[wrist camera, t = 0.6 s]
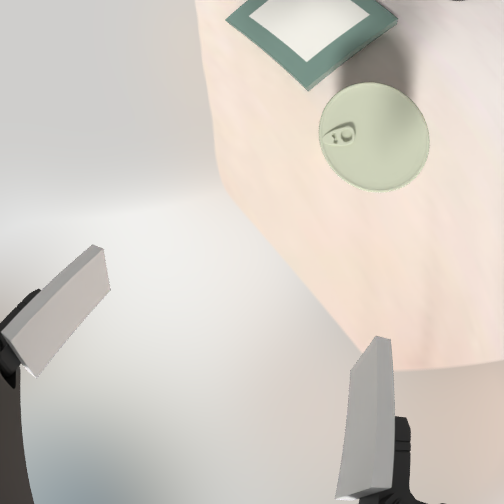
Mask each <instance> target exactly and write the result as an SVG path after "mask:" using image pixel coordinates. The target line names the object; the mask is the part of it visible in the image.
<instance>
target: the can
mask: <svg viewBox="0 0 504 504" xmlns="http://www.w3.org/2000/svg"><path fill="white" fill-rule="evenodd" d="M319 141H320V146H321V149H322V152H323V155H324V157H325V159H326V161H327V163H328V164H329V166H330V167H331V168H332V170H333V171H334V172H335V173H336V174H337V175H338V176H339V177H340V178H341V179H343V180H344V181H345V182H347V183H348V184H350V185H352V186H354V187H356V188H358V189H361V190H364V191H368V192H376V193H383V192H390V191H394V190H397V189H400V188H402V187H404V186H406V185H407V184H409V183H410V182H411V181H413V180H414V179H415V178H416V177H417V175H418V174H419V173H420V172H421V170H422V168H423V167H424V165H425V162H426V160H427V157H428V152H429V132H428V128H427V124H426V122H425V119H424V117H423V115H422V113H421V112H420V110H419V109H418V107H417V106H416V105H415V103H414V102H413V101H412V100H411V99H410V98H409V97H407V96H406V95H405V94H404V93H402V92H401V91H399V90H397V89H395V88H393V87H391V86H388V85H385V84H381V83H376V82H363V83H357V84H354V85H350V86H348V87H346V88H344V89H342V90H341V91H339V92H338V93H337V94H335V95H334V96H333V97H332V98H331V100H330V101H329V102H328V103H327V105H326V107H325V108H324V111H323V113H322V116H321V119H320V124H319Z"/></svg>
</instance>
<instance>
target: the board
mask: <svg viewBox="0 0 504 504" xmlns="http://www.w3.org/2000/svg"><path fill="white" fill-rule="evenodd" d="M397 20H398V18H396V17H395V16H394V15H393V14H392V13H390V12H389V11H388V10H387V9H385V8H384V7H383V6H381V5H380V4H379V3H377V2H376V1H375V0H248V1H246V2H245V3H244V4H243V5H242V6H240V7H239V8H238V9H237V10H236V11H235V12H233V13H232V14H231V15H230V16H229V17H228V18H227V19H226V20H225V21H227V22H228V23H229V24H230V25H231V26H233V27H234V28H235V29H237V30H238V31H239V32H241V33H242V34H243V35H245V36H246V37H247V38H248V39H250V40H251V41H252V42H253V43H255V44H256V45H257V46H258V47H260V48H261V49H262V50H263V51H264V52H266V53H267V54H268V55H269V56H270V57H271V58H273V59H274V60H275V61H276V62H277V63H278V64H279V65H281V66H282V67H283V68H284V69H285V70H286V71H287V72H288V73H289V74H290V75H291V76H293V77H294V78H295V79H296V80H297V81H298V82H299V83H300V84H301V85H302V86H303V87H304V88H305V89H306V90H307V91H309V90H311V89H312V88H313V87H314V86H315V85H317V84H318V83H319V82H320V81H322V80H323V79H324V78H325V77H326V76H328V75H329V74H330V73H331V72H333V71H334V70H335V69H336V68H338V67H339V66H340V65H341V64H343V63H344V62H345V61H347V60H348V59H349V58H350V57H352V56H353V55H354V54H356V53H357V52H358V51H360V50H361V49H362V48H364V47H365V46H366V45H368V44H369V43H371V42H372V41H373V40H375V39H376V38H377V37H379V36H380V35H382V34H383V33H384V32H386V31H387V30H389V29H390V28H392V27H393V26H395V25H396V24H397Z"/></svg>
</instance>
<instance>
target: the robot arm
mask: <svg viewBox="0 0 504 504" xmlns="http://www.w3.org/2000/svg"><path fill="white" fill-rule="evenodd" d="M454 1H463V0H454ZM110 290H111V289H110V284H109V279H108V273H107V268H106V262H105V256H104V249H103V248H100V247H97V246H95V245H91V246H90V247H89V248H88V249H87V250H86V251H84V252H83V253H82V254H81V255H80V256H79V257H77V258H76V259H75V260H74V261H73V262H72V263H70V264H69V265H68V266H67V267H66V268H65V269H64V270H63V271H62V272H61V273H59V274H58V275H57V276H56V277H55V278H54V279H53V280H52V281H51V282H50V283H49V284H48V285H46V286H45V287H44V288H43V289H42V290H40V289H37V290H35V291H33V292H31V293H30V294H29V295H28V296H26V297H25V298H24V299H23V301H22V302H20V303H19V304H18V306H17V308H15V309H14V310H12V312H11V313H10V314H9V315H8V316H7V317H6V318H5V319H4V320H3V321H2V322H1V323H0V504H34V501H33V497H32V493H31V489H30V484H29V479H28V473H27V468H26V461H25V455H24V447H23V437H22V426H21V407H20V367H19V365H20V364H21V363H22V365H23V366H24V368H25V369H26V370H27V371H28V372H29V373H30V374H32V375H33V376H34V377H35V378H37V377H38V376H39V375H40V373H41V372H42V371H43V370H44V368H45V367H46V365H47V364H48V363H49V362H50V361H51V359H52V358H53V357H54V356H55V354H56V353H57V352H58V351H59V349H60V348H61V347H62V346H63V344H64V343H65V342H66V340H67V339H68V338H69V337H70V336H71V335H72V334H73V332H74V331H75V330H76V329H77V327H78V326H79V325H80V324H81V323H82V322H83V321H84V319H85V318H86V317H87V316H88V315H89V314H90V313H91V311H92V310H93V309H94V308H95V307H96V306H97V305H98V303H99V302H100V301H101V300H102V299H103V298H104V297H105V296H106V295H107V293H108V292H109V291H110ZM393 376H394V375H393V360H392V348H391V339H387V338H383V337H379V336H375V338H374V339H373V340H372V342H371V343H370V345H369V346H368V348H367V349H366V350H365V352H364V353H363V354H362V356H361V357H360V358H359V360H358V361H357V362H356V364H355V365H354V367H353V368H352V369H351V370H350V385H349V398H348V411H347V420H346V429H345V438H344V445H343V453H342V460H341V467H340V473H339V479H338V484H337V490H336V495H335V499H339V500H356V499H359V498H360V500H359V504H426V503H423V502H420V501H418V500H416V499H415V498H414V496H413V495H412V494H411V493H410V489H409V477H410V450H411V449H410V448H411V445H410V440H411V439H410V438H411V436H410V435H411V434H410V433H411V431H410V427H409V424H408V421H407V419H406V418H405V417H397V416H395V402H394V401H395V400H394V377H393ZM441 504H444V503H441Z"/></svg>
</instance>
